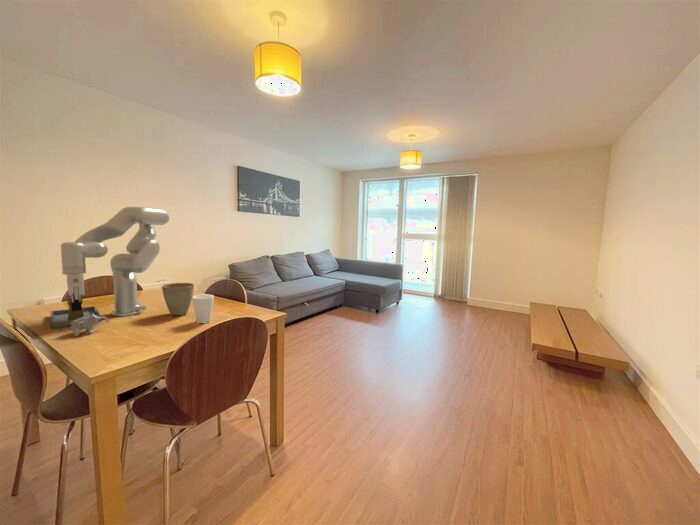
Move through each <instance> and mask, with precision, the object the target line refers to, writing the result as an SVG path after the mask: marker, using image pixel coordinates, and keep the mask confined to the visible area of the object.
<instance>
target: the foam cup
mask: <svg viewBox="0 0 700 525" xmlns="http://www.w3.org/2000/svg"><path fill="white" fill-rule="evenodd" d="M214 300H215V296H214V294H209V293H205V294H204V293H203V294H196V295H193V296H192V304H193V310H194V311H193V312H194V317H195V321H197V322H198V323H197V322H196V323H197V324H199V323H204V322H209V321H210V320H212V313H213V306H214ZM210 322H211V321H210ZM210 322H209V323H210ZM204 324H205V323H204Z"/></svg>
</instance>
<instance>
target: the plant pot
mask: <svg viewBox="0 0 700 525" xmlns="http://www.w3.org/2000/svg"><path fill="white" fill-rule="evenodd" d="M161 289H162V294H163V298H164V302H165V304H166V307H167V309H168V312H169V314H170V315H171V316H172V315H182V314H185V315H187V314H188V311H189V309H190V306H191V304H192V301H193V296H194V290H195V284H194V283H192V282H174V283H166V284H163V285H161ZM186 313H187V314H186ZM182 316H183V315H182Z"/></svg>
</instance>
